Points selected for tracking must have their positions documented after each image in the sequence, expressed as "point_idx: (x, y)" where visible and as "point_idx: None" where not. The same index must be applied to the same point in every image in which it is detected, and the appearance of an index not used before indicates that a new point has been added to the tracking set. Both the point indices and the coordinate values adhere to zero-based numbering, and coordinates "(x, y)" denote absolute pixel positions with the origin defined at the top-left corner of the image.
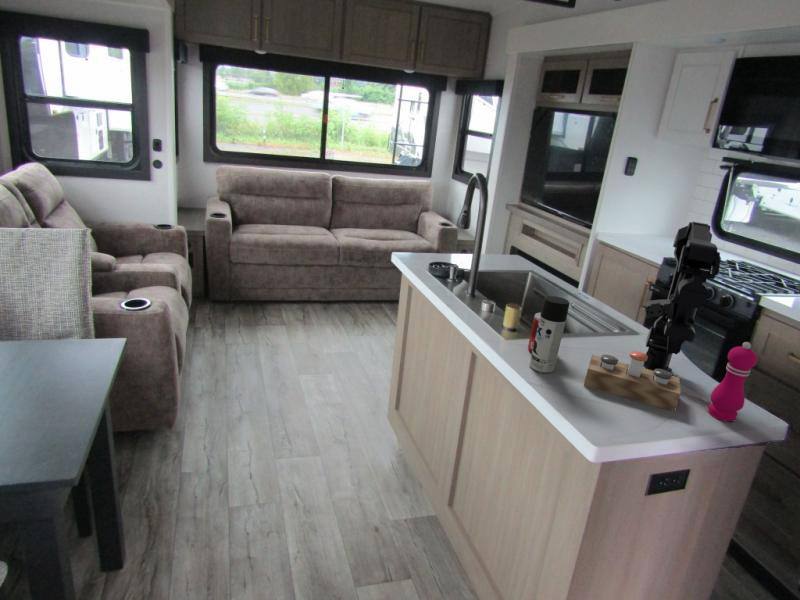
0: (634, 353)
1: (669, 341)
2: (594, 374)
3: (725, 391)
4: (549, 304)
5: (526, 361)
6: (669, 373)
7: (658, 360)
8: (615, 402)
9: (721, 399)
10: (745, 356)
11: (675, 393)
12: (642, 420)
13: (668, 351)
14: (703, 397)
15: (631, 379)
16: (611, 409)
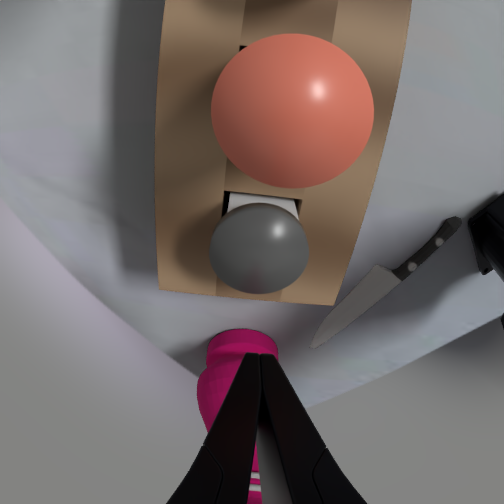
0: (305, 71)
1: (198, 460)
2: None
3: (209, 412)
4: None
5: None
6: (265, 284)
7: (502, 246)
8: (115, 32)
9: (203, 386)
10: None
11: (158, 272)
12: (44, 136)
13: (238, 371)
14: (334, 330)
15: (173, 74)
16: (54, 32)
